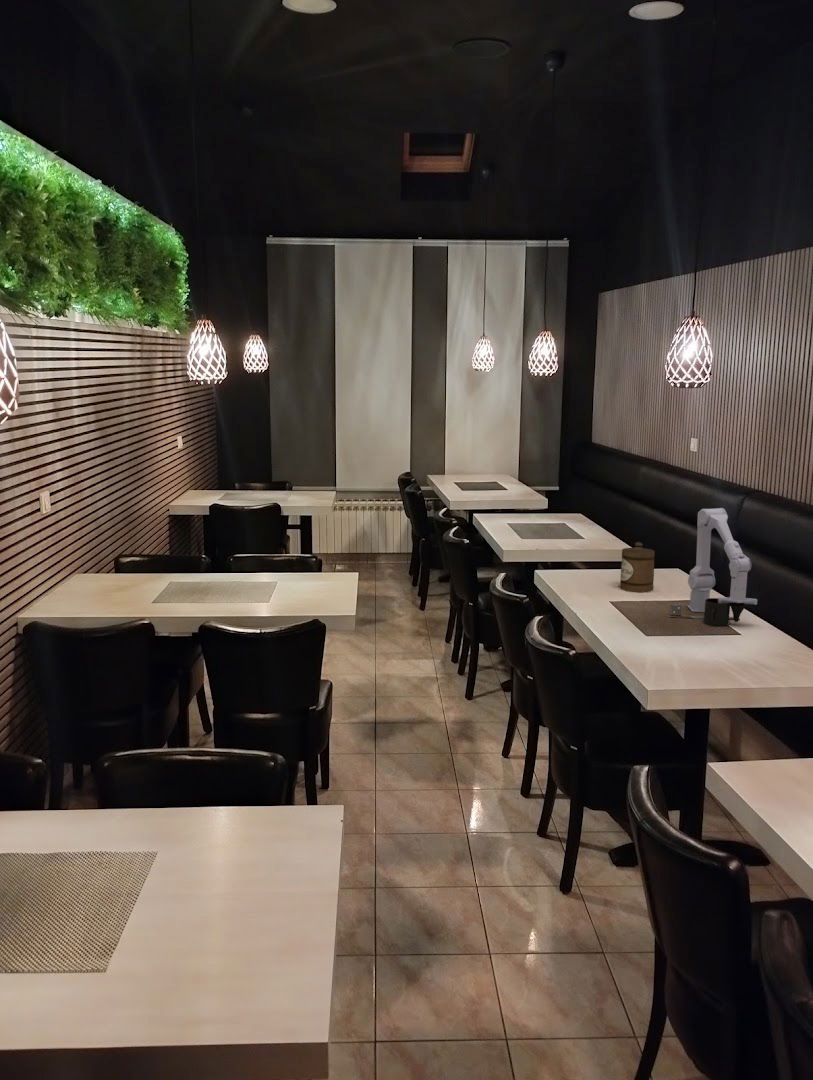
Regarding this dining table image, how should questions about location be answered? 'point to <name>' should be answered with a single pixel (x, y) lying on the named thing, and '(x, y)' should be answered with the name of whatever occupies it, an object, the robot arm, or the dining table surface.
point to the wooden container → (637, 569)
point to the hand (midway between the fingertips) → (735, 621)
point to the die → (675, 610)
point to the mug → (716, 612)
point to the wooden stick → (693, 617)
